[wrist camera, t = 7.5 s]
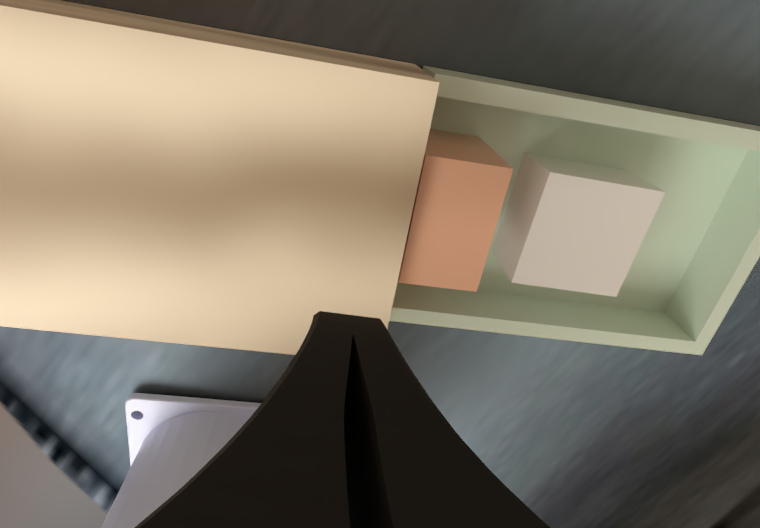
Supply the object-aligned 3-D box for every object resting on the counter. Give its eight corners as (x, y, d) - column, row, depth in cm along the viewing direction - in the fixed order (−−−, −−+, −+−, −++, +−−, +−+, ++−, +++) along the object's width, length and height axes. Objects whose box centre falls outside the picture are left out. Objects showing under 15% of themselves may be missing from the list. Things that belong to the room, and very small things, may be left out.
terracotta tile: (389, 230, 18) (452, 239, 19) (398, 282, 15) (476, 291, 15) (409, 125, 17) (479, 136, 17) (426, 155, 13) (513, 168, 13)
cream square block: (511, 282, 17) (492, 251, 19) (616, 297, 17) (585, 264, 20) (550, 172, 15) (524, 151, 17) (665, 192, 16) (626, 170, 18)
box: (665, 320, 22) (701, 355, 19) (380, 286, 20) (384, 320, 18) (766, 127, 18) (826, 143, 16) (423, 65, 16) (435, 73, 14)
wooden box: (373, 285, 20) (380, 363, 15) (6, 241, 18) (-106, 315, 14) (414, 63, 16) (440, 82, 12) (-46, -19, 14) (-224, -35, 10)
